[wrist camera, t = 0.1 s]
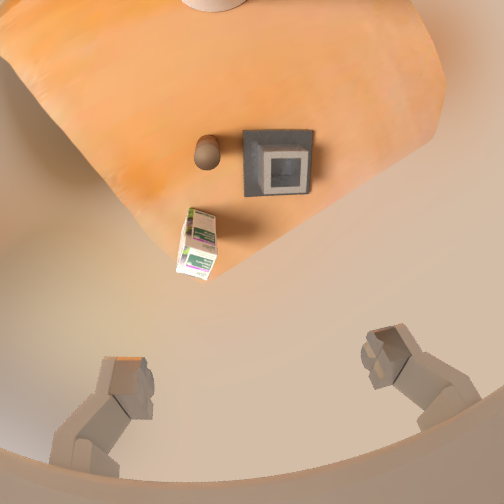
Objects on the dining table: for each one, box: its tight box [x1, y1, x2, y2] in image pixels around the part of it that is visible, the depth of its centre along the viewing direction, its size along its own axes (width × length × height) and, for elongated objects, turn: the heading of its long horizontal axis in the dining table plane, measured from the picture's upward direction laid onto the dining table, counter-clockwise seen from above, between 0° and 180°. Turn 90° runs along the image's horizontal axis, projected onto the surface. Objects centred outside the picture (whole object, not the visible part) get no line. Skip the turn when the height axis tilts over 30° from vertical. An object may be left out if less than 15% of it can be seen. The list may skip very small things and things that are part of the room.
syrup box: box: [176, 208, 218, 280], centre depth 53 cm, size 6×6×14 cm
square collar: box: [243, 130, 313, 197], centre depth 52 cm, size 13×13×7 cm
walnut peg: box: [194, 135, 220, 170], centre depth 47 cm, size 4×4×10 cm
